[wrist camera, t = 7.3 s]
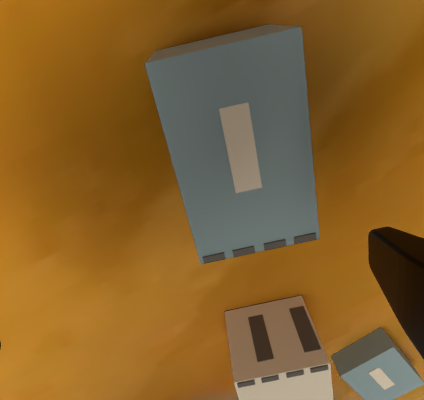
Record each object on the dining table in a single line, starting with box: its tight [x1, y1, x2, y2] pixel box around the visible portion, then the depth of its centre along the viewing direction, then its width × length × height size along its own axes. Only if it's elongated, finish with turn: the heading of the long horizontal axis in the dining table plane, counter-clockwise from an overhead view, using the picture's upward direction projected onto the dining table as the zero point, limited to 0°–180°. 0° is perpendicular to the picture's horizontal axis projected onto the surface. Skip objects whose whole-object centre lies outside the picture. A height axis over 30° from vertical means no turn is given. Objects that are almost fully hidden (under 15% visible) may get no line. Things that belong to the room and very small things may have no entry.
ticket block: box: [224, 295, 333, 400], centre depth 23 cm, size 11×5×5 cm, turn 12°
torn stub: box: [331, 327, 424, 400], centre depth 25 cm, size 5×4×2 cm
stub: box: [144, 24, 320, 264], centre depth 15 cm, size 8×5×5 cm, turn 12°
